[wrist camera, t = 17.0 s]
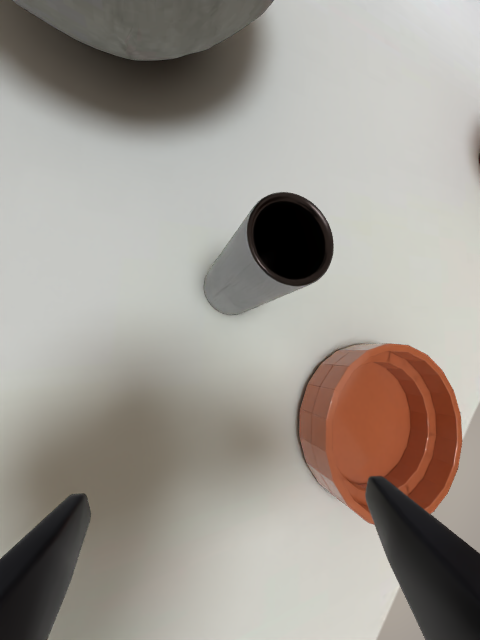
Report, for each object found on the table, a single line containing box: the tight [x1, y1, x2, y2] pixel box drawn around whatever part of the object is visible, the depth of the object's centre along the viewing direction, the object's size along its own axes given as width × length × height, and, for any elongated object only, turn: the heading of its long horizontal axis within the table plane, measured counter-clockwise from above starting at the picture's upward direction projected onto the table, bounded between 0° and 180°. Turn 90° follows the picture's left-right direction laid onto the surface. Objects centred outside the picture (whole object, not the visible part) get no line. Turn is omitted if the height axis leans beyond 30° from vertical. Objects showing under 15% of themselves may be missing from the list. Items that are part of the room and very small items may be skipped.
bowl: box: [299, 343, 462, 525], centre depth 23 cm, size 14×14×4 cm
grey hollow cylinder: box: [204, 192, 334, 315], centre depth 17 cm, size 4×4×10 cm
